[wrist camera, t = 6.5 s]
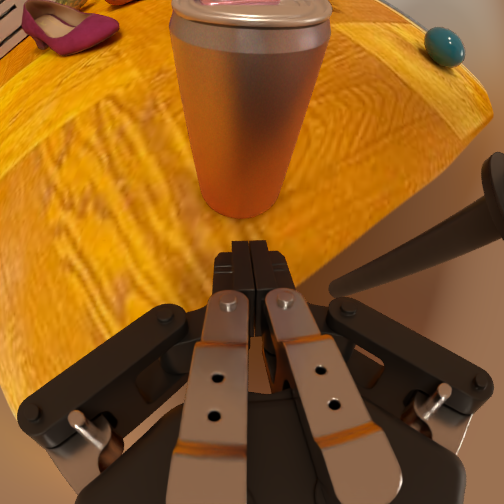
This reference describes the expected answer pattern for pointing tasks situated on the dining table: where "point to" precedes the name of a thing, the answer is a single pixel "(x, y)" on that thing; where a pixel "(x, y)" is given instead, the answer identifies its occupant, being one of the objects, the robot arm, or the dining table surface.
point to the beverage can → (246, 91)
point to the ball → (444, 47)
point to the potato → (117, 2)
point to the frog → (71, 3)
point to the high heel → (65, 27)
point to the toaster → (11, 24)
